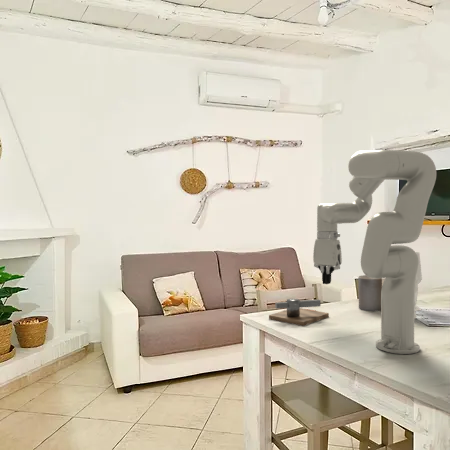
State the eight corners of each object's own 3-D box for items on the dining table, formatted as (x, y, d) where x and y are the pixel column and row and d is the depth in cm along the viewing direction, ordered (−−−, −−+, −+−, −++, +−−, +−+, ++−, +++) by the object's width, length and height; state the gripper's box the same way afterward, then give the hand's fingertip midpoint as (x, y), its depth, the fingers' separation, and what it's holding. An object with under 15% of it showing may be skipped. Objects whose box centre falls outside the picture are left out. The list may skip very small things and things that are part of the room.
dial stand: (303, 325, 164) (303, 321, 164) (269, 318, 175) (268, 314, 175) (329, 316, 177) (329, 312, 177) (295, 310, 188) (295, 307, 188)
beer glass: (419, 320, 170) (419, 281, 170) (400, 319, 172) (400, 280, 171) (415, 315, 177) (415, 278, 176) (397, 315, 178) (397, 277, 178)
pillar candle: (374, 305, 196) (373, 271, 196) (387, 310, 187) (386, 274, 186) (354, 307, 194) (353, 273, 193) (366, 312, 184) (365, 276, 184)
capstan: (278, 317, 169) (277, 302, 169) (273, 314, 174) (273, 299, 174) (322, 314, 173) (322, 299, 172) (317, 312, 178) (317, 297, 177)
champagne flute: (401, 307, 191) (401, 252, 190) (413, 306, 193) (413, 251, 192) (412, 311, 184) (412, 253, 184) (425, 309, 187) (425, 252, 186)
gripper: (349, 236, 167) (349, 284, 168) (315, 234, 177) (314, 279, 178) (339, 237, 162) (339, 287, 163) (304, 235, 172) (304, 282, 173)
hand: (326, 283), depth 170 cm, fingers closed
